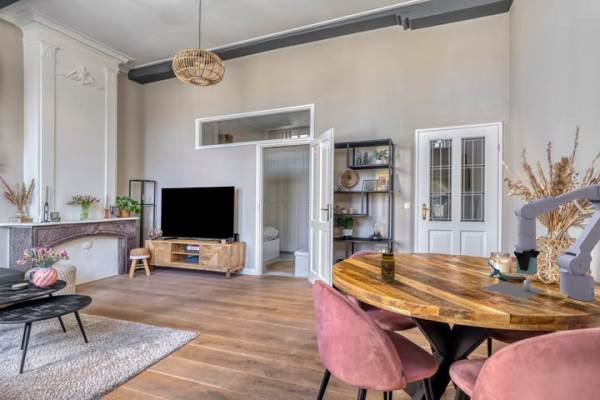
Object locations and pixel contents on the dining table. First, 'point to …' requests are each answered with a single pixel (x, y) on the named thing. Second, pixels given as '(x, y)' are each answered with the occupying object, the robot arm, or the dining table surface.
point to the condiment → (387, 267)
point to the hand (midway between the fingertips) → (526, 269)
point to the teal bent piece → (496, 272)
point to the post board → (515, 289)
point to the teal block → (529, 267)
